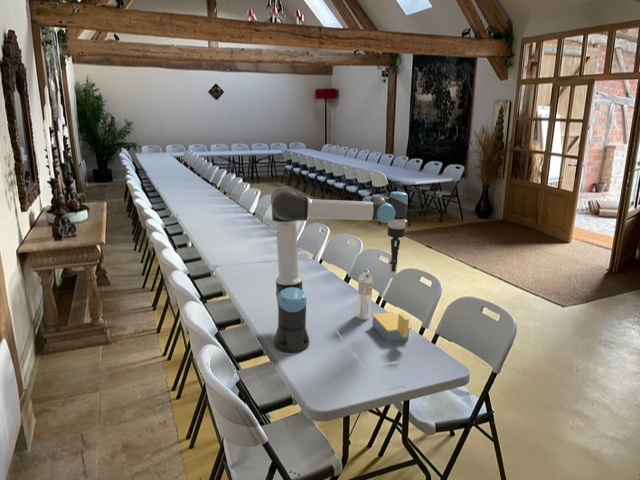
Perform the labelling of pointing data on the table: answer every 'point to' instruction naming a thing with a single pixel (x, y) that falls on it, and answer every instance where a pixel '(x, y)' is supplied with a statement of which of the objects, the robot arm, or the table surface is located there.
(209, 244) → the table surface
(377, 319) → the lid
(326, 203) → the robot arm
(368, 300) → the water bottle
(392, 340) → the tub
